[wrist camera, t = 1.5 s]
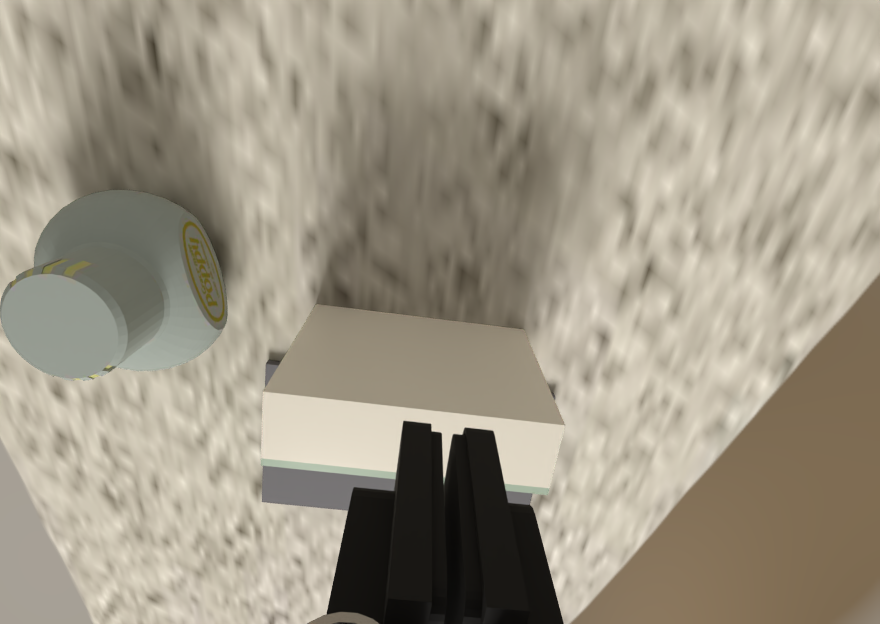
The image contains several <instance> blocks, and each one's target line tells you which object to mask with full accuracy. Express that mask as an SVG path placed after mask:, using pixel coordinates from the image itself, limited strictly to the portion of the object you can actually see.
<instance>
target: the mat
mask: <svg viewBox="0 0 880 624" xmlns="http://www.w3.org/2000/svg"><path fill="white" fill-rule="evenodd" d="M280 363H281V362H279V361H271V360H268V362H267V363H266V376H265V387H266V386H267V384H268V382H269V381H270V379H271V377H272V376H273V374H274V372H275V371H276V369H277V368H278V366H279V364H280ZM551 394H552V396H553V398H554V400H555V396H554V393H551ZM354 487H359V488H368V489H378V490H388V491H394V487H395V479H388V478H378V477H369V476H359V475H349V474H340V473H330V472H320V471H311V470H301V469H291V468H282V467H272V466H263V483H262V502H267V503H277V504H287V505H297V506H307V507H317V508H328V509H338V510H348V509H349V505H350V500H351V495H352V491H353V488H354ZM506 494H507V499H508V503H516V504H526V505H530V501H531V497H532V493H523V492H514V491H506Z"/></svg>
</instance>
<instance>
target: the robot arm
mask: <svg viewBox="0 0 880 624" xmlns="http://www.w3.org/2000/svg"><path fill="white" fill-rule="evenodd" d="M307 624H564V623H563V620H562V616H561V612H560V608H559V604H558V600H557V597H556V593H555V589H554V585H553V581H552V578H551V574H550V570H549V566H548V562H547V558H546V555H545V551H544V547H543V543H542V539H541V536H540V532H539V528H538V524H537V520H536V516H535V513H534V510H533V508H532V507H531V506H530V505H526V504H516V503H508V499H507V494H506V489H505V484H504V479H503V474H502V469H501V464H500V459H499V454H498V449H497V444H496V439H495V434H494V431H493V430H484V429H475V428H466V427H465V428H464V431H463V434H462V435H460V434H453V436H452V440H451V446H450V452H449V458H448V464H447V470H446V475H445V481H444V480H443V452H442V433H441V432H433V431H432V426H431V424H430V423H421V422H412V421H403V426H402V433H401V441H400V448H399V456H398V464H397V471H396V479H395V487H394V491H388V490H378V489H368V488H359V487H354V488H353V491H352V495H351V500H350V505H349V509H348V514H347V519H346V524H345V529H344V533H343V538H342V543H341V548H340V552H339V557H338V562H337V567H336V572H335V576H334V581H333V586H332V591H331V596H330V600H329V605H328V610H327V615H323V616H321V617H319V618H317V619H315V620H313V621H311V622H309V623H307Z"/></svg>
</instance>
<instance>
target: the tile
mask: <svg viewBox="0 0 880 624" xmlns="http://www.w3.org/2000/svg"><path fill="white" fill-rule="evenodd" d="M403 421H412V422H421V423H430V424H431V426H432V431H433V432H441V433H442V452H443V480H444V481H445V475H446V470H447V464H448V458H449V452H450V446H451V440H452V436H453V434H460V435H462V434H463V431H464V428H465V427H466V428H475V429H484V430H493V431H494V434H495V439H496V444H497V449H498V454H499V459H500V464H501V469H502V474H503V479H504V484H505V489H506V491H514V492H523V493H533V494H543V495H548V492H549V488H550V484H551V480H552V476H553V472H554V468H555V464H556V460H557V456H558V452H559V449H560V445H561V441H562V437H563V433H564V429H565V424H564V421H563V419H562V417H561V414H560V412H559V410H558V407H557V405H556V403H555V400H554V398H553V396H552V394H551V391H550V389H549V387H548V384H547V382H546V380H545V377H544V375H543V373H542V370H541V368H540V366H539V364H538V361H537V359H536V357H535V354H534V352H533V350H532V347H531V345H530V343H529V340H528V338H527V336H526V333H525V331H524V329H516V328H508V327H500V326H492V325H483V324H475V323H467V322H459V321H451V320H443V319H434V318H426V317H418V316H410V315H402V314H394V313H386V312H377V311H369V310H361V309H353V308H345V307H337V306H328V305H320V304H316V305H315V307H314V308H313V310H312V312H311V313H310V315H309V317H308V318H307V320H306V322H305V323H304V325H303V327H302V328H301V330H300V331H299V333H298V335H297V336H296V338H295V340H294V341H293V343H292V345H291V346H290V348H289V350H288V351H287V353H286V354H285V356H284V358H283V359H282V361H281V363H280V364H279V366H278V368H277V369H276V371H275V372H274V374H273V376H272V377H271V379H270V381H269V382H268V384H267V386H266V387H265V389H264V391H263V406H262V443H261V465H262V466H272V467H282V468H291V469H301V470H311V471H320V472H330V473H340V474H349V475H359V476H369V477H378V478H388V479H396V471H397V464H398V456H399V448H400V441H401V433H402V426H403Z"/></svg>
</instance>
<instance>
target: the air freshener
mask: <svg viewBox="0 0 880 624" xmlns="http://www.w3.org/2000/svg"><path fill="white" fill-rule="evenodd" d="M0 318H1V323H2V327H3V329H4V332H5V334H6V337H7V338H8V340H9V342H10V343H11V345H12V346H13V348H14V349H15V350H16V352H17V353H18V354H19V355H20V356H21V357H22V358H23V359H24V360H26V361H27V362H28V363H30V364H31V365H32V366H34V367H35V368H37V369H39V370H40V371H42V372H44V373H46V374H49V375H51V376H53V377H54V376H57V377H60V378H62V379H65V380H72V381H74V380H84V381H85V380H91V379H94V378H95V377H98V376H103V375H105V374H107V373H109V372H110V371H111V370H113V369H114V368H115V367H117V368H120V369H126V370H133V371H157V370H163V369H169V368H173V367H176V366H179V365H182V364H184V363H186V362H188V361H190V360H192V359H194V358H196V357H197V356H199V355H200V354H202V353H203V352H204V351H205V350H206V349H208V348H209V347H210V346H211V345H212V344H213V343H214V341H215V340H216V339H217V338H218V337H219V335H220V334H221V332H222V330H223V328H224V327H225V324H226V321H227V297H226V291H225V285H224V281H223V277H222V273H221V269H220V266H219V262H218V260H217V257H216V254H215V251H214V249H213V246H212V244H211V242H210V240H209V238H208V236H207V234H206V232H205V230H204V228H203V227H202V225H201V224H200V222H199V221H198V220H197V218H196V217H195V216H194V215H192V214H191V213H190V212H188V211H187V210H185V209H184V208H182V207H181V206H179V205H177V204H175V203H173V202H171V201H169V200H167V199H165V198H162V197H159V196H156V195H153V194H150V193H146V192H140V191H134V190H108V191H102V192H97V193H92V194H90V195H87V196H84V197H82V198H79V199H77V200H75V201H73V202H72V203H70V204H69V205H67V206H65V207H64V208H62V209H61V210H60V211H59V212H58V213H57V214H56V215H55V216H54V217H53V218H52V219H51V220H50V221H49V223H48V224H47V226H46V227H45V229H44V230H43V232H42V233H41V236H40V238H39V240H38V243H37V245H36V248H35V255H34V268H32V269H29V270H27V271H24V272H23V273H21V274H19V275H18V276H16V279H15V280H14V281H12V282H10V283H9V284H8V286H7V287H6V289H5V290H4V293H3V296H2V298H1V304H0Z"/></svg>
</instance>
